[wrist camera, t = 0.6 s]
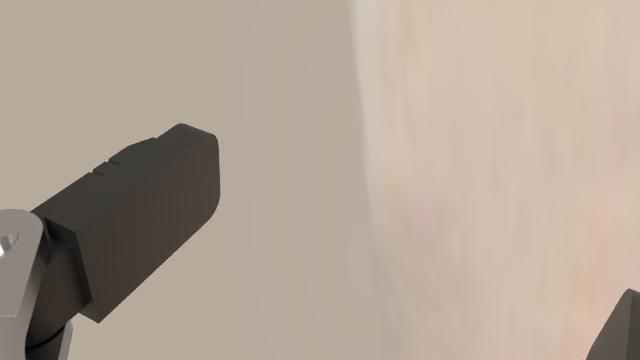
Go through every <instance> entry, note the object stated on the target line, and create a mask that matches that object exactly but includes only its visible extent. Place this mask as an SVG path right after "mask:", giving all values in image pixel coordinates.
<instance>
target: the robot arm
mask: <svg viewBox="0 0 640 360" xmlns="http://www.w3.org/2000/svg"><path fill="white" fill-rule="evenodd" d="M219 199H220V171H219V146H218V140H217V138H216V136H215V135H213V134H211V133H208V132H205V131H203V130H200V129H197V128H194V127H192V126H189V125H187V124H183V123H181V124H177V125H175V126H174V127H172V128H171V129H169V130H168V131H167V132H165V133H164V134H163V135H161V136H159V137H158V138H151V139H148V140H144V141H141V142H138V143H135V144H133V145H130V146H127V147H126V148H125V149H123V150H121V151H120V152H118V153H117V154H115V155H114V156H113V157H111V158H109V161H108V162H104V163H102V164H101V165H99V166H98V167H96V168H95V169H93V172H92V173H90V172H89V173H87V174H86V175H84V176H83V177H81V178H80V179H78V180H77V181H75V182H74V183H72V184H71V185H69V186H68V187H66V188H65V189H63V190H62V191H60V192H59V193H57V194H56V195H54V196H53V197H51V198H50V199H48V200H47V201H45V202H44V203H42V204H41V205H40V206H38V207H36V208H35V209H33V210H32V211H30V212H28V211H24V210H18V209H6V210H0V360H67V357H68V352H69V348H70V343H71V338H72V332H73V327H72V322H71V319H72V317H74V316H75V315H76V314H77V313H78V312H79V313H81V314H82V315H84V316H86V317H88V318H90V319H92V320H93V321H95V322H97V323H100V322H101V321H102V320H103V319H104V318H105V317H106V316H107V315H108V314H109V313H110V312H111V311H113V310H114V308H116V307H117V306H118V305H119V304H120V303H121V302H122V301H123V300H124V299H125V298H126V297H127V296H129V295H130V294H131V293H132V292H133V291H134V290H135V289H136V288H137V287H138V286H139V285H140V284H141V283H142V282H143V281H144V280H146V279H147V278H148V276H150V275H151V274H152V273H153V272H154V271H155V270H156V269H157V268H158V267H159V266H160V265H161V264H162V263H164V262H165V261H166V260H167V259H168V258H169V257H170V256H171V255H172V254H173V253H174V252H175V251H176V250H177V249H178V248H179V247H181V246H182V244H184V243H185V242H186V241H187V240H188V239H189V238H190V237H191V236H192V235H193V234H194V233H195V232H197V231H198V230H199V228H201V227H202V226H203V225H204V224H205V223H206V222H207V221H208V220H209V219H210V218H211V216H212V215H213V214H214V212H215V210H216V208H217V205H218V202H219ZM586 360H640V292H637V291H635V290H632V289H627V290H626V291H625V292H624V294H623V295H622V297H621V298H620V300H619V302H618V303H617V305H616V307H615V308H614V310H613V312H612V313H611V315H610V317H609V318H608V320H607V322H606V323H605V325H604V327H603V328H602V330H601V332H600V333H599V335H598V337H597V338H596V340H595V342H594V343H593V345H592V347H591V349H590V351H589V354H588V356H587V358H586Z"/></svg>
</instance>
